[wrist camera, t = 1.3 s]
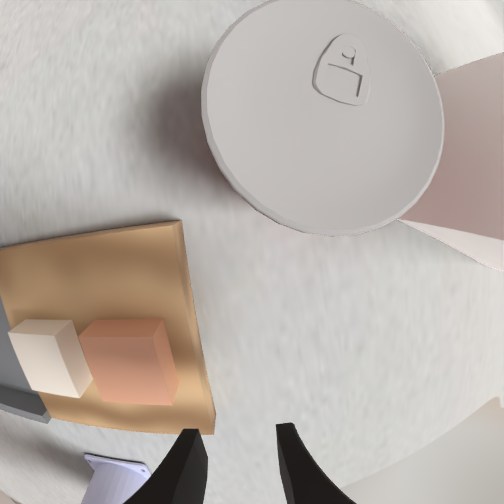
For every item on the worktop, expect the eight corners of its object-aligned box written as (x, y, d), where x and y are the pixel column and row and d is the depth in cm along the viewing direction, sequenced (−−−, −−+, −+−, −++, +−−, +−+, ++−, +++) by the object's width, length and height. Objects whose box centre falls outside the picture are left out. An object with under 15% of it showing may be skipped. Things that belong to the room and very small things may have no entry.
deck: (216, 413, 22) (213, 434, 20) (62, 403, 22) (51, 417, 20) (181, 220, 19) (172, 225, 16) (9, 246, 19) (-10, 252, 16)
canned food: (339, 91, 17) (426, 15, 6) (345, 208, 19) (449, 237, 8) (223, 89, 17) (200, -11, 6) (226, 211, 19) (202, 244, 8)
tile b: (93, 379, 18) (79, 398, 16) (46, 373, 18) (32, 389, 16) (72, 319, 17) (54, 335, 15) (25, 319, 17) (7, 332, 15)
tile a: (179, 382, 18) (172, 405, 16) (115, 380, 18) (103, 401, 16) (163, 317, 17) (152, 336, 15) (95, 319, 17) (78, 336, 15)
